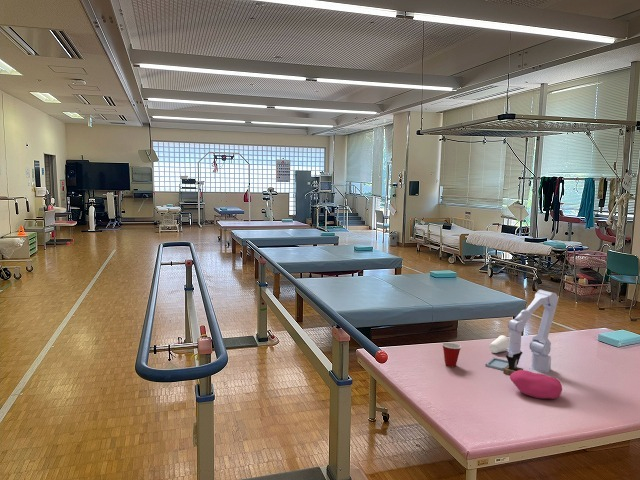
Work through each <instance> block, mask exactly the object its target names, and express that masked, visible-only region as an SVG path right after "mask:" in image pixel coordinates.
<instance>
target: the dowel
mask: <svg viewBox="0 0 640 480" xmlns="http://www.w3.org/2000/svg"><path fill="white" fill-rule="evenodd" d="M517 367H518V365H517V359H516V362H515V366H514V369H510V370H514V371H517Z"/></svg>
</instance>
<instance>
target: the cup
mask: <svg viewBox="0 0 640 480" xmlns="http://www.w3.org/2000/svg"><path fill="white" fill-rule="evenodd" d="M509 339H510V338H509V337H508V336H506V335H504V334H501V335H499V336H498V337H497V338H496V339H494V340H493V341H492V342H491V343H489V345H488V349H489V351H490V352H491V353H493V354H498V353H502V352H509V351H508V350H507V348H509Z"/></svg>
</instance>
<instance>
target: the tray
mask: <svg viewBox="0 0 640 480" xmlns="http://www.w3.org/2000/svg"><path fill="white" fill-rule="evenodd" d="M507 365H509V364H508V360H506V359H502V358H497V357H492V358H491V359H490V360H488V362H486V363H485V367H488V368H492V369H496V370H498V371H499V370H500V371H503V370H504V368H505V367H506V366H507Z"/></svg>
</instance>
